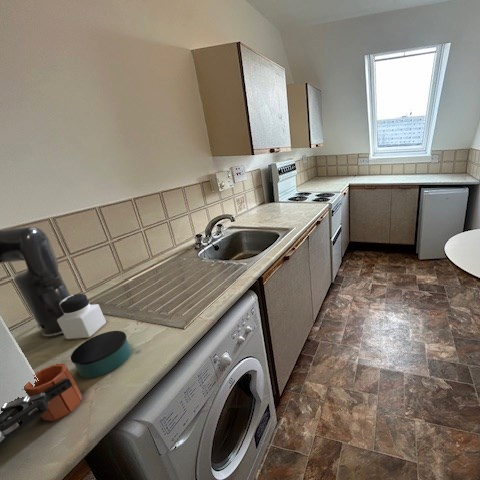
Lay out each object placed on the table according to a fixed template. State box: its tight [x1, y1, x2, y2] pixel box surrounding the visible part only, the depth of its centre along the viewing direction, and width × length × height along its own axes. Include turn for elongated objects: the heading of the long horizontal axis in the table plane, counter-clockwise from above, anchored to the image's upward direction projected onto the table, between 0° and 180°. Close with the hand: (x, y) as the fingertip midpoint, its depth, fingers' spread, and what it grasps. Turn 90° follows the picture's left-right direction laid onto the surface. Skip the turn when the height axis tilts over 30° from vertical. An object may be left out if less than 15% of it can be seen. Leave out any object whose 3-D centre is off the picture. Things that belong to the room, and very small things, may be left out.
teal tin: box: [70, 330, 132, 379], centre depth 69 cm, size 11×11×5 cm
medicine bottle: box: [57, 293, 107, 340], centre depth 80 cm, size 7×7×12 cm
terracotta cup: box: [23, 363, 83, 422], centre depth 56 cm, size 6×6×9 cm
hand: (63, 374), depth 57 cm, fingers closed on terracotta cup, 6 cm apart
